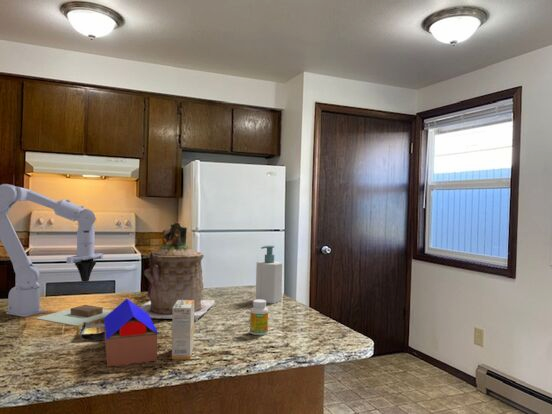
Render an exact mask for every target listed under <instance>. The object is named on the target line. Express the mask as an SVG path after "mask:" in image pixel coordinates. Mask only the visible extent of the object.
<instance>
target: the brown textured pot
mask: <svg viewBox="0 0 552 414" xmlns="http://www.w3.org/2000/svg"><path fill="white" fill-rule="evenodd" d="M187 231H188V228H187V227H186V226H184V225H181V224H180V222H178V221H176V222H174V223H171V224H170V228H165V229H164V230H163V231H162V238H163V239H164V240H166V241H165V242H163V245H161V246H160V247H159V248H158V249H157V250H155V251H151V252H150V254H149V259H148V261H149V264H150V265H149V268H147V269H145V270H144V273H143V274H144V276H145V277H146V278H147V280H148V281H149V286H148V290H147V294H146V295H147V297H148V298H149V301H147V302H145V303H143V304H142V305H140V306H138V307H139V308H141V309H142V310H143V311H145V312H146V313H147V314H149V316H150V318H151V319H166V320H167V319H169V320H171V319H172V317H173V307H174V305H175V303H176V302H177V300H194V322H198V319H200V318H201V317H202V316H203V315H205V314H206V312H208V310H209V309H211V308H212V307H214V305H215V300H213V299H210V300H209V299H206V300H205V299H203V300H202V297H203V291H204V282H203V269H202V260H203V258H204V253H203V252H201V251H196V250H194V249H192V248H190V247H189V245H187Z"/></svg>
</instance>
